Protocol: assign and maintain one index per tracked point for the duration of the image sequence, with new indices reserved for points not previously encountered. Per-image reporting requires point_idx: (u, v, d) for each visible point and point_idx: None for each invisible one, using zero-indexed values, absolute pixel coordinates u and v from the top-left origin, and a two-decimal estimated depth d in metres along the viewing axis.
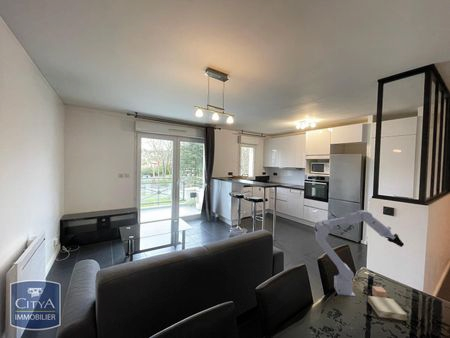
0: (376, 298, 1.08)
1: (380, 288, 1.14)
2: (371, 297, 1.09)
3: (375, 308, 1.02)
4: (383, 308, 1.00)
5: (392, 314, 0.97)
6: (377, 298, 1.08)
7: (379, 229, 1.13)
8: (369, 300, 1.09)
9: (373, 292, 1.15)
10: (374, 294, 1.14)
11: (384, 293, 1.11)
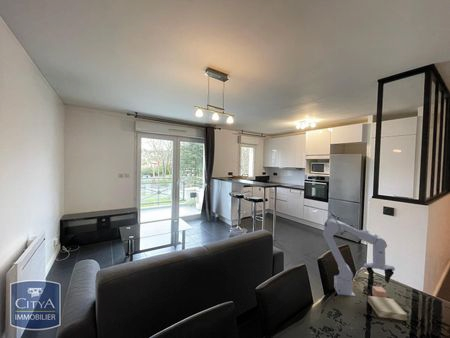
0: (376, 298, 1.08)
1: (380, 288, 1.14)
2: (371, 297, 1.09)
3: (375, 308, 1.02)
4: (383, 308, 1.00)
5: (392, 314, 0.97)
6: (377, 298, 1.08)
7: None
8: (369, 300, 1.09)
9: (373, 292, 1.15)
10: (374, 294, 1.14)
11: (384, 293, 1.11)
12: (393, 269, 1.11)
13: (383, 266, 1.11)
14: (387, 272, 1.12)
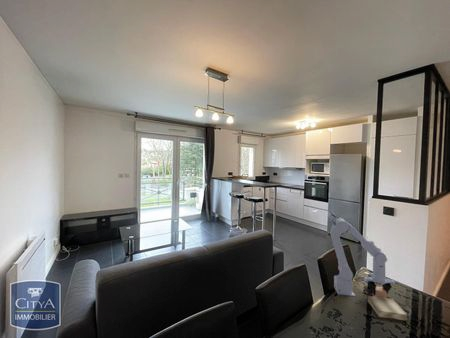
0: (376, 298, 1.08)
1: (380, 288, 1.14)
2: (371, 297, 1.09)
3: (375, 308, 1.02)
4: (383, 308, 1.00)
5: (392, 314, 0.97)
6: (377, 298, 1.08)
7: (373, 271, 1.15)
8: (369, 300, 1.09)
9: None
10: None
11: (384, 293, 1.11)
12: (393, 283, 1.11)
13: (383, 280, 1.11)
14: (385, 286, 1.12)
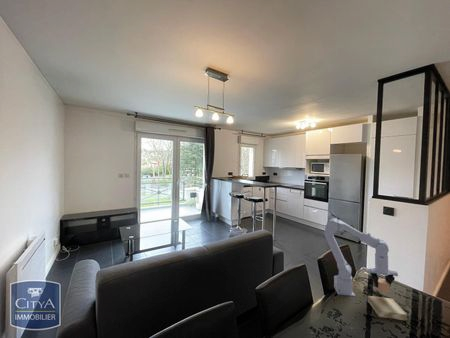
0: (376, 298, 1.08)
1: (382, 280, 1.10)
2: (371, 297, 1.09)
3: (375, 308, 1.02)
4: (383, 308, 1.00)
5: (392, 314, 0.97)
6: (377, 298, 1.08)
7: (375, 262, 1.11)
8: (369, 300, 1.09)
9: None
10: None
11: (387, 285, 1.07)
12: (396, 275, 1.07)
13: (386, 272, 1.07)
14: (388, 277, 1.08)
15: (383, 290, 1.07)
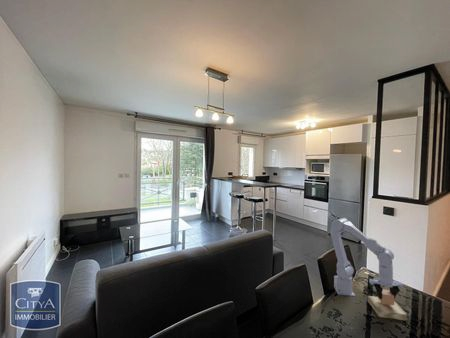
0: (376, 298, 1.08)
1: (387, 291, 1.04)
2: (371, 297, 1.09)
3: (375, 308, 1.02)
4: (383, 308, 1.00)
5: (392, 314, 0.97)
6: (377, 298, 1.08)
7: (379, 272, 1.05)
8: (369, 300, 1.09)
9: None
10: None
11: (391, 297, 1.01)
12: (401, 286, 1.01)
13: (390, 283, 1.01)
14: (392, 289, 1.02)
15: (387, 302, 1.01)
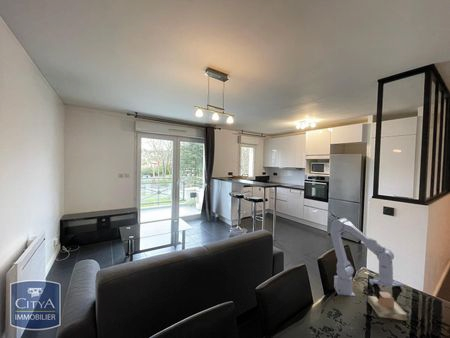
0: (376, 298, 1.08)
1: (386, 294, 1.04)
2: (371, 297, 1.09)
3: (375, 308, 1.02)
4: (383, 308, 1.00)
5: (392, 314, 0.97)
6: None
7: (379, 272, 1.05)
8: (369, 300, 1.09)
9: None
10: (380, 300, 1.04)
11: (391, 299, 1.01)
12: (401, 286, 1.01)
13: (390, 283, 1.01)
14: (395, 289, 1.01)
15: (387, 305, 1.01)
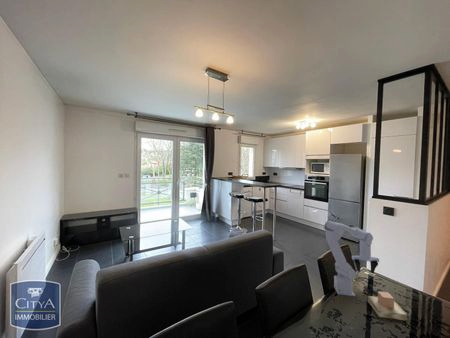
0: (376, 298, 1.08)
1: (386, 294, 1.04)
2: (371, 297, 1.09)
3: (375, 308, 1.02)
4: (383, 308, 1.00)
5: (392, 314, 0.97)
6: (377, 298, 1.08)
7: None
8: (369, 300, 1.09)
9: (379, 298, 1.05)
10: (380, 300, 1.04)
11: (391, 299, 1.01)
12: (378, 260, 1.21)
13: (368, 258, 1.21)
14: (372, 263, 1.22)
15: (387, 305, 1.01)
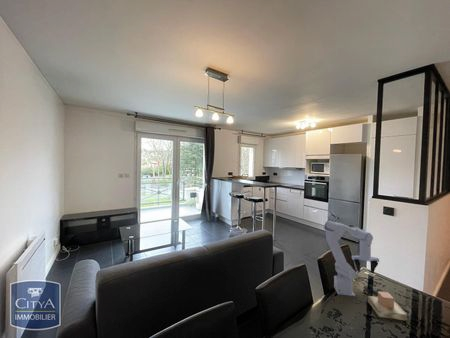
0: (376, 298, 1.08)
1: (386, 294, 1.04)
2: (371, 297, 1.09)
3: (375, 308, 1.02)
4: (383, 308, 1.00)
5: (392, 314, 0.97)
6: (377, 298, 1.08)
7: None
8: (369, 300, 1.09)
9: (379, 298, 1.05)
10: (380, 300, 1.04)
11: (391, 299, 1.01)
12: (378, 260, 1.21)
13: (368, 258, 1.21)
14: (372, 263, 1.22)
15: (387, 305, 1.01)
